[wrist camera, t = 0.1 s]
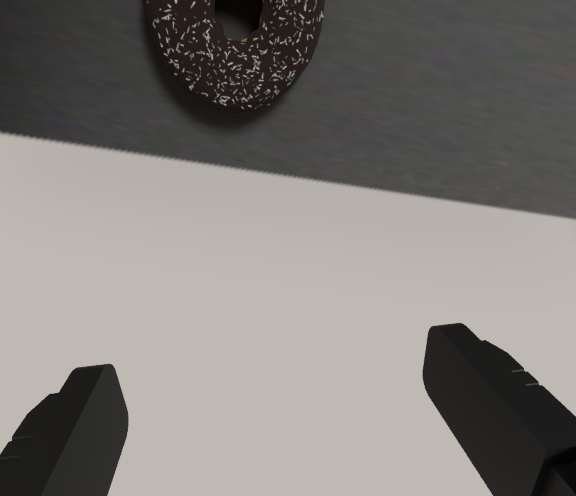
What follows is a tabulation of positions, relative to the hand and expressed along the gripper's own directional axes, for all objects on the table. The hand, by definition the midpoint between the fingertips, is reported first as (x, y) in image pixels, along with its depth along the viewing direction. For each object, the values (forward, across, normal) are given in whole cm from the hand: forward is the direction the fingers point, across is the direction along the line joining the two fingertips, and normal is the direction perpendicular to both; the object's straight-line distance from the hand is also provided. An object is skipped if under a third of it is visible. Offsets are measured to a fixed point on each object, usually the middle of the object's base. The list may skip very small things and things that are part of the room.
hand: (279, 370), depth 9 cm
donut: (+21, 0, -12) cm, 24 cm away
